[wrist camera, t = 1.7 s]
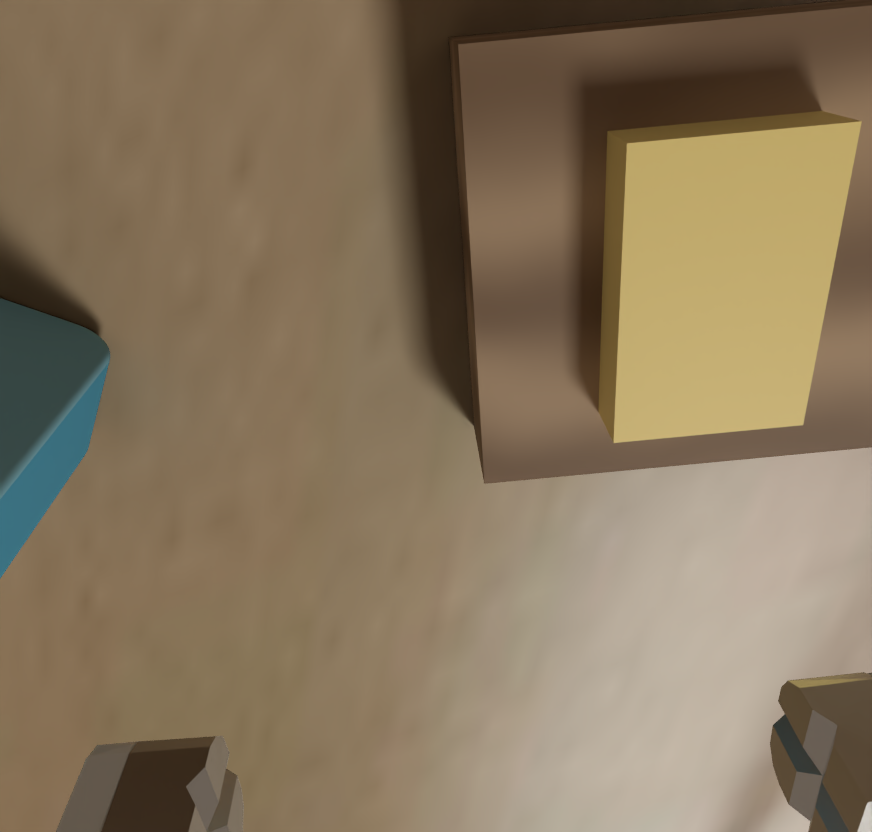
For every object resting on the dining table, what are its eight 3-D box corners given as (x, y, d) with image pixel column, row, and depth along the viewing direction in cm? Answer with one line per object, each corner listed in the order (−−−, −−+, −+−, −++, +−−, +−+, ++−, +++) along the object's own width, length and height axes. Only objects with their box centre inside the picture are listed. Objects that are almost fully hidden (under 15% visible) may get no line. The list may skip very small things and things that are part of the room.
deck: (448, 37, 23) (457, 44, 19) (1158, -30, 23) (1296, -35, 19) (473, 426, 30) (484, 483, 26) (1017, 375, 30) (1100, 425, 26)
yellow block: (607, 131, 20) (627, 143, 19) (821, 110, 20) (861, 121, 19) (598, 412, 25) (613, 442, 23) (775, 395, 25) (803, 425, 23)
